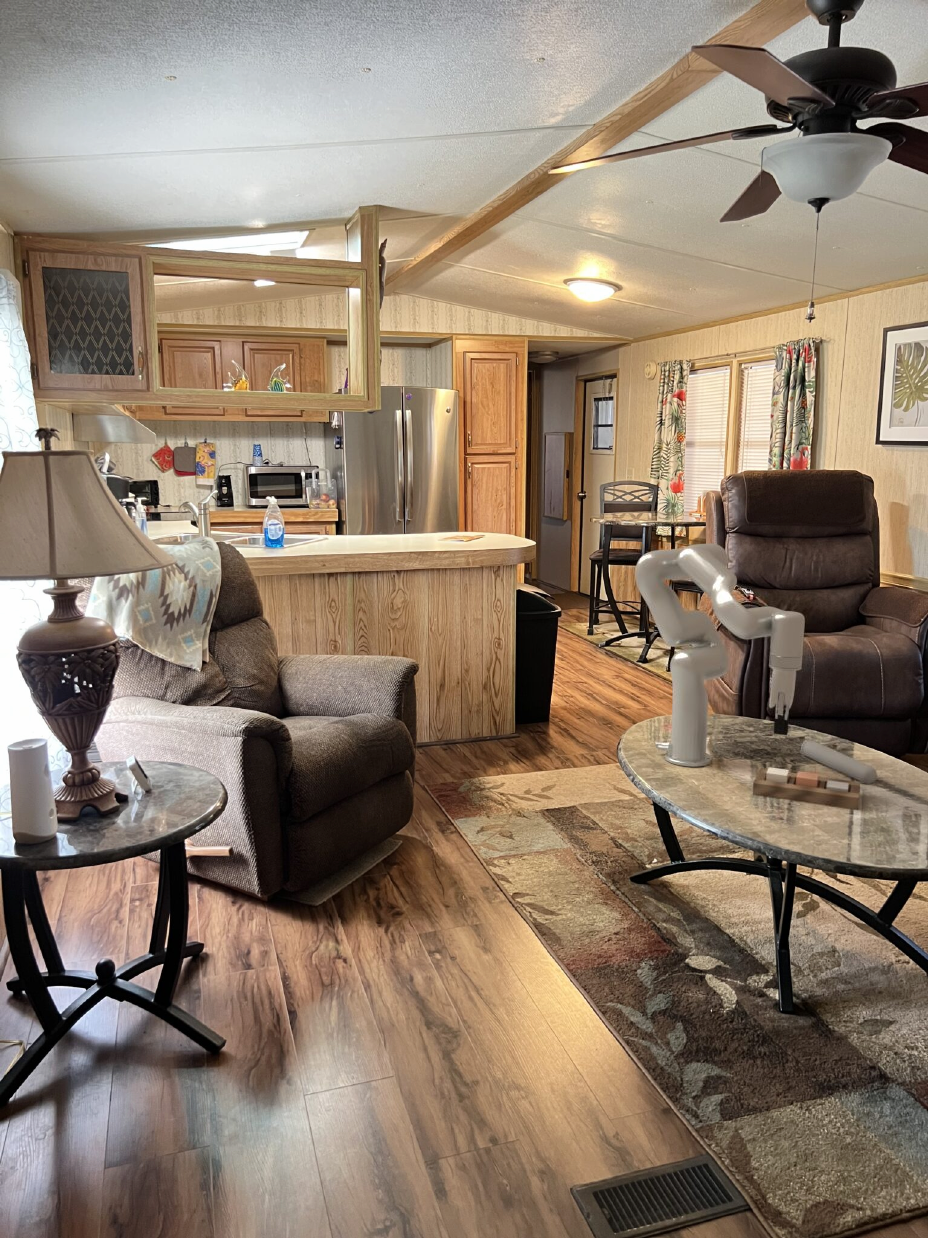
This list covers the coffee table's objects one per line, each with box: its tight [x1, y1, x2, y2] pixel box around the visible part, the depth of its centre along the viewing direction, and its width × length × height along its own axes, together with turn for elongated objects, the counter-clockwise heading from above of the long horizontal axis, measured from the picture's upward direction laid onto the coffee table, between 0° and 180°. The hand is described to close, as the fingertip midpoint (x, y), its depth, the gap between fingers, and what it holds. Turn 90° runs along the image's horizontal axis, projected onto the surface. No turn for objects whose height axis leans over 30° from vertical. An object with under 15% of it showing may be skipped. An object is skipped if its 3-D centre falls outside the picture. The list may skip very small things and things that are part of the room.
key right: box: [826, 780, 849, 792], centre depth 218 cm, size 5×5×3 cm
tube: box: [800, 738, 878, 785], centre depth 239 cm, size 5×5×25 cm
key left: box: [766, 766, 790, 784], centre depth 224 cm, size 5×5×3 cm
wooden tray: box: [752, 768, 862, 811], centre depth 221 cm, size 24×12×3 cm, turn 65°
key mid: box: [796, 770, 820, 788], centre depth 221 cm, size 5×5×3 cm
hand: (780, 733), depth 222 cm, fingers closed
